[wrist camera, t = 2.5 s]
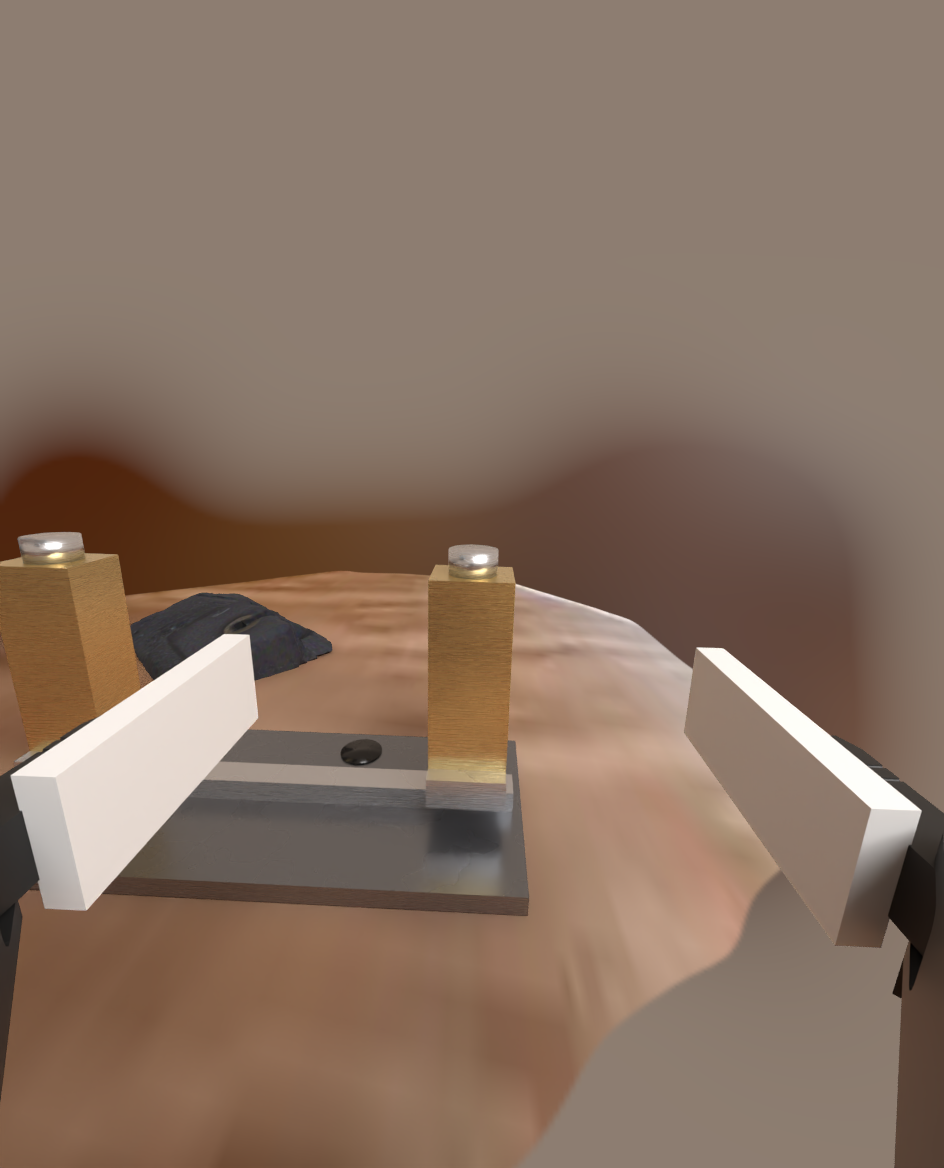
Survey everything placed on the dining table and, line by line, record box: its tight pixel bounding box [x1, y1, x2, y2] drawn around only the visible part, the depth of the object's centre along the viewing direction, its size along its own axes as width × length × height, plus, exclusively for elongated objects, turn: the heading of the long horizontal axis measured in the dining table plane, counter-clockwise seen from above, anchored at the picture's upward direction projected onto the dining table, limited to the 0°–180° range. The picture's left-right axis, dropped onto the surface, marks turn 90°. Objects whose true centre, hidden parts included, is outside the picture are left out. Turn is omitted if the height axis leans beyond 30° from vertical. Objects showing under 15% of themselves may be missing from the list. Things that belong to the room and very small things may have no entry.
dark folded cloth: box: [130, 593, 332, 680], centre depth 50 cm, size 15×22×5 cm
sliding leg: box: [426, 545, 515, 811], centre depth 26 cm, size 4×7×14 cm, turn 178°
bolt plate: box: [0, 532, 529, 916], centre depth 26 cm, size 26×12×15 cm, turn 88°
